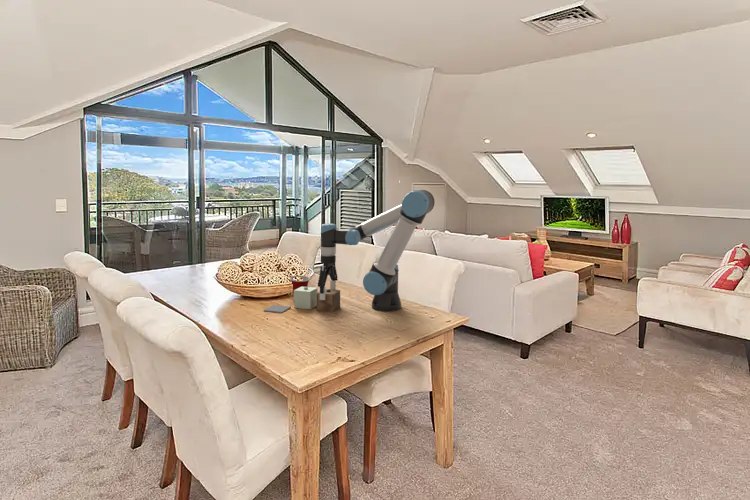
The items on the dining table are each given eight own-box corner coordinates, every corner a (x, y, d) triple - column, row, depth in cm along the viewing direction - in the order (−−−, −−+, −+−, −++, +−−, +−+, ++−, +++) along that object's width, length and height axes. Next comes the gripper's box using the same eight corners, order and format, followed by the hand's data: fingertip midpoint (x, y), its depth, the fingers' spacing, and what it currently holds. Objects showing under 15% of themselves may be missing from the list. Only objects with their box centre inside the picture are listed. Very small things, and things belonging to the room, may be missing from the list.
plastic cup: (296, 302, 252) (296, 280, 250) (286, 298, 260) (286, 277, 258) (314, 299, 258) (313, 277, 257) (304, 295, 267) (303, 274, 265)
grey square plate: (291, 307, 242) (291, 306, 242) (281, 313, 233) (281, 311, 233) (273, 305, 245) (273, 304, 245) (263, 311, 236) (263, 310, 236)
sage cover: (317, 304, 248) (317, 285, 247) (310, 309, 240) (310, 289, 238) (301, 303, 251) (301, 284, 249) (294, 307, 242) (293, 288, 241)
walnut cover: (340, 307, 244) (340, 288, 242) (333, 312, 235) (333, 292, 234) (324, 305, 246) (323, 286, 245) (316, 310, 238) (316, 290, 236)
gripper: (330, 250, 249) (330, 289, 253) (310, 258, 226) (310, 301, 229) (344, 251, 247) (343, 291, 251) (325, 259, 223) (325, 303, 227)
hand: (327, 296), depth 240 cm, fingers open, 13 cm apart
